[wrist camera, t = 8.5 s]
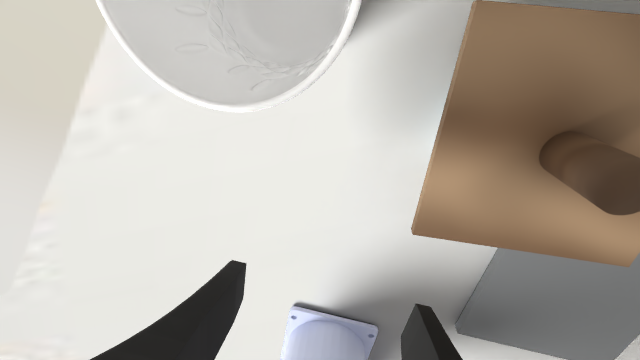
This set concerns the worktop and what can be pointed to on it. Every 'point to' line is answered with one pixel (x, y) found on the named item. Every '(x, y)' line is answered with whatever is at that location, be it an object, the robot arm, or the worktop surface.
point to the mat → (555, 305)
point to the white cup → (233, 46)
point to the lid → (540, 135)
